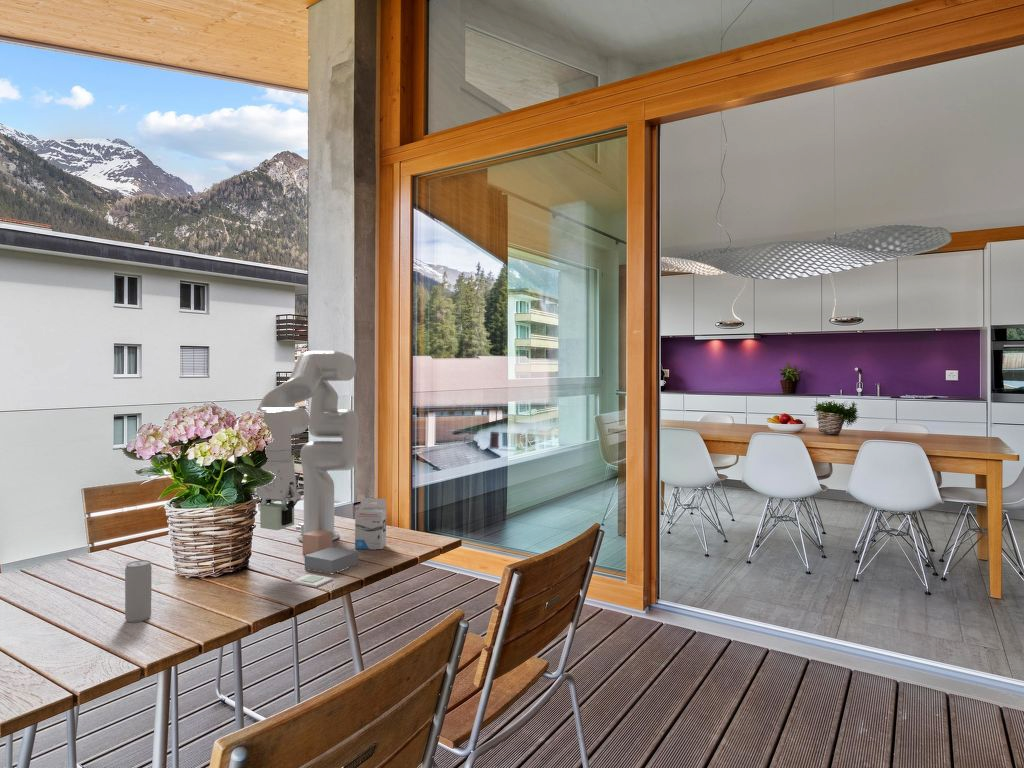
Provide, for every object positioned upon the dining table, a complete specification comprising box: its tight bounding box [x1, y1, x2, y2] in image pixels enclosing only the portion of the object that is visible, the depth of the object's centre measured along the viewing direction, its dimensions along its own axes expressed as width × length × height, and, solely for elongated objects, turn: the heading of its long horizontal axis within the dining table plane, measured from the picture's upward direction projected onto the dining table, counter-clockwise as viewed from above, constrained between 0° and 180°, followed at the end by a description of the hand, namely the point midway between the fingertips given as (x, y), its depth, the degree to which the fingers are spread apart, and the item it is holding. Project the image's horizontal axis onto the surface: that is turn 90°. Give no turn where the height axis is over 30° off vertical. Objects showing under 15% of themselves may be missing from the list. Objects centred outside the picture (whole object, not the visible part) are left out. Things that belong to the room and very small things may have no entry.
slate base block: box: [304, 546, 359, 574], centre depth 166 cm, size 10×10×4 cm
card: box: [291, 573, 333, 588], centre depth 154 cm, size 8×6×1 cm
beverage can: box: [124, 559, 152, 624], centre depth 129 cm, size 5×5×12 cm
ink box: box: [354, 497, 387, 550], centre depth 185 cm, size 9×5×15 cm, turn 84°
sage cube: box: [259, 500, 295, 531], centre depth 162 cm, size 6×6×6 cm
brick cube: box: [302, 530, 333, 555], centre depth 180 cm, size 6×6×6 cm
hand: (277, 522), depth 162 cm, fingers closed on sage cube, 6 cm apart
